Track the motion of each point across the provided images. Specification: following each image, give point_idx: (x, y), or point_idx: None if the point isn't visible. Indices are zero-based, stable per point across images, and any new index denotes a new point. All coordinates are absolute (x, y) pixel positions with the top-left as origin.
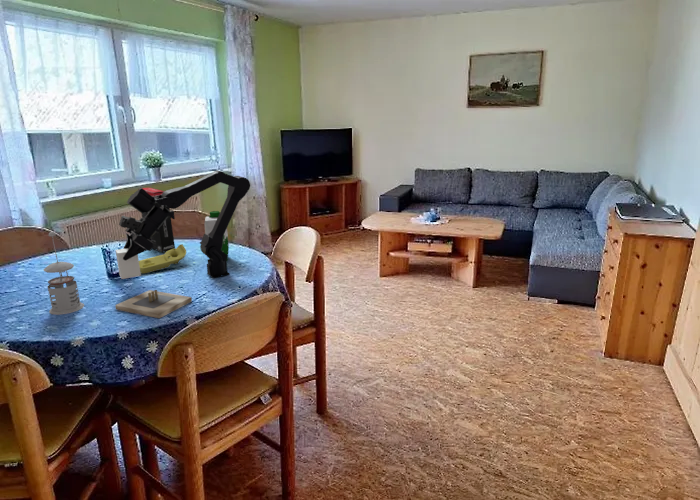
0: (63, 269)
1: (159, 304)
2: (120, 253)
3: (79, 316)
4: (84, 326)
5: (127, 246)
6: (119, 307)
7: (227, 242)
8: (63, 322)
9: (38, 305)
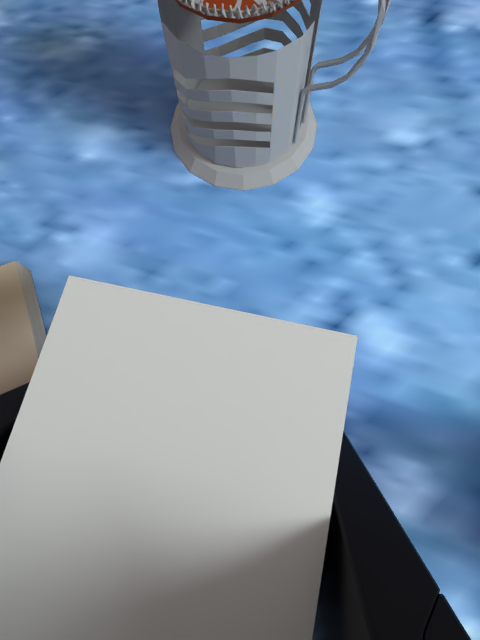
0: None
1: None
2: (54, 324)
3: (95, 137)
4: None
5: (341, 629)
6: None
7: None
8: (85, 82)
9: (381, 57)
